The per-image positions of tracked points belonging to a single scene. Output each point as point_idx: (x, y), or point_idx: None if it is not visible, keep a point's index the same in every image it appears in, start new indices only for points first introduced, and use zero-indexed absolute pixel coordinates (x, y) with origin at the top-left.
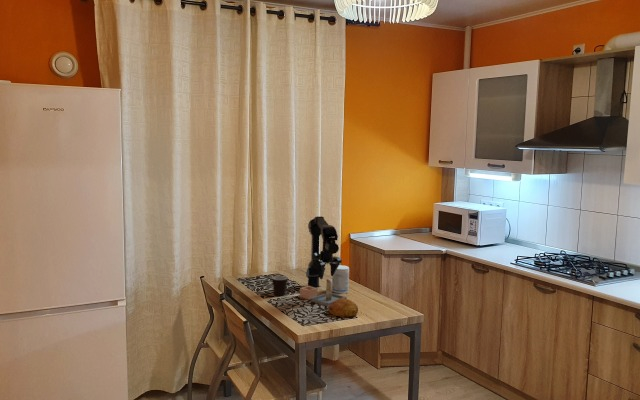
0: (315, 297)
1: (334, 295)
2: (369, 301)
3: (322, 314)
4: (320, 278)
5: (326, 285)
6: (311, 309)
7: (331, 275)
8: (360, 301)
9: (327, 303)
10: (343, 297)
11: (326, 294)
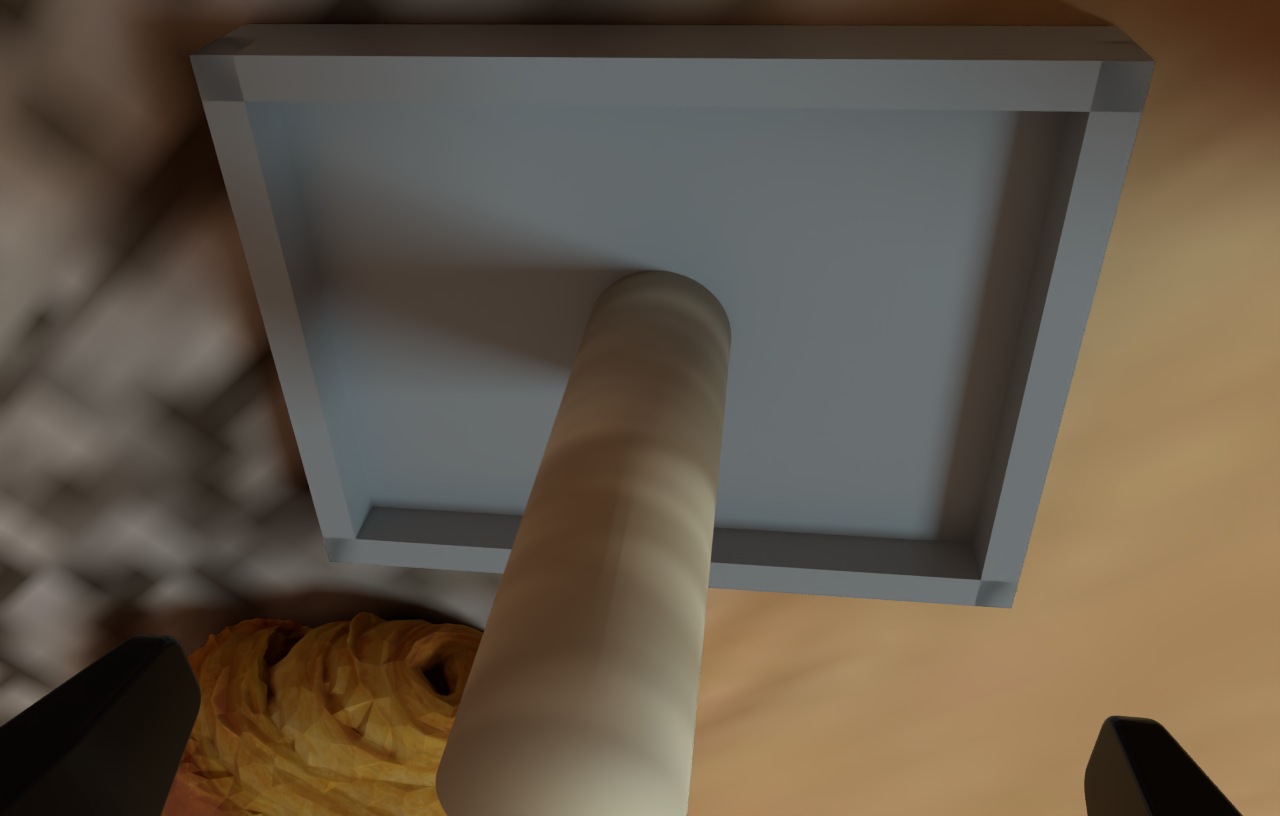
0: (361, 102)
1: (1038, 280)
2: (1238, 804)
3: (64, 611)
4: (111, 679)
5: (513, 561)
6: (4, 363)
7: (1108, 763)
8: (1138, 716)
9: (330, 546)
10: (920, 584)
11: (564, 392)
